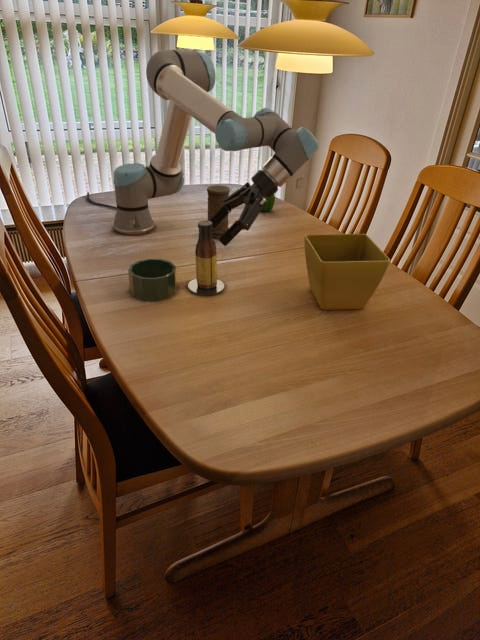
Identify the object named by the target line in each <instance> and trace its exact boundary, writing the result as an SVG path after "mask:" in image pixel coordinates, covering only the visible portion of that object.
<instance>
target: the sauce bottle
mask: <svg viewBox="0 0 480 640" xmlns="http://www.w3.org/2000/svg"><path fill="white" fill-rule="evenodd" d="M207 220H208V219H207ZM207 220H205V219H204V220H200V221H198V222H197V228H198V239H197V242H196V245H195V249H194V250H195V251H194V254H195V255H194V256H195V277H196V278H195V279H196V280H197V284H198V286H199V287H200V288H203V289H211V288H214V287H215V286H216V285H217V279H218V253H217V244H216V241H215V239H213V238H212V227H213V225H212V222H211V221H207Z"/></svg>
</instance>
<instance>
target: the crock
mask: <svg viewBox="0 0 480 640" xmlns="http://www.w3.org/2000/svg"><path fill="white" fill-rule="evenodd" d="M127 272H128V282H129V291H130V294H131V295H132V296H133V298H135V299H138V300H141V301H144V302H159V301H163V300H167V299H169V298H171V297H173V295H175V294H176V292H177V289H178V286H177V285H178V284H177V281H178V280H177V266H176V265H175V264H174V263H173V262H172V261H169V260H167V259H164V258H163V259H162V258H147V259H141V260H137V261H135V262H134V263H131V264H130V265H129V268H128V270H127Z"/></svg>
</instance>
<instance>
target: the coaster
mask: <svg viewBox="0 0 480 640" xmlns="http://www.w3.org/2000/svg"><path fill="white" fill-rule="evenodd" d="M187 289H188V291H189V292H190V293H192V294H194V295H197V296H202V297H212V296H217V295H219V294H221V293H223V291H224V290H225V283H224V282H223V281H222V280H220V279H218V278H217V285H216V286H215V287H214V288H211V289H203V288H200V287H199V286H198V284H197V280H196V278H194V279H192V280H190V281H189V282H188V283H187Z"/></svg>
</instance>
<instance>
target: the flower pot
mask: <svg viewBox="0 0 480 640" xmlns="http://www.w3.org/2000/svg"><path fill="white" fill-rule="evenodd" d="M304 257H305V264H306V265H305V266H306V272H307V278H308V282H309V288H310V291H311V293H312V294H313V296H314V298H315V300H316V302H317V304H318V306H319V308H320V309H321V310H323V311H332V310H333V311H334V310H361V309H364V308H365V306H366V305H367V304H368V303H369V301H370V300H371V299H372V297H373V296H374V294H375V292H376V291H377V289H378V287H379V286H380V284H381V282H382V281H383V278H384V277H385V274H386V272H387V270H388V268H389V265H390V263H391V258H390V257H388V256H387V254H386V253H385V252H384V251H383V250H382V249H381V248H380V247H379V246H378V245H377V243H375V242H374V241H373V240H372V238H371V237H370V236H369V235H368V234H366V233H318V234H310V233H309V234H305V235H304Z"/></svg>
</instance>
